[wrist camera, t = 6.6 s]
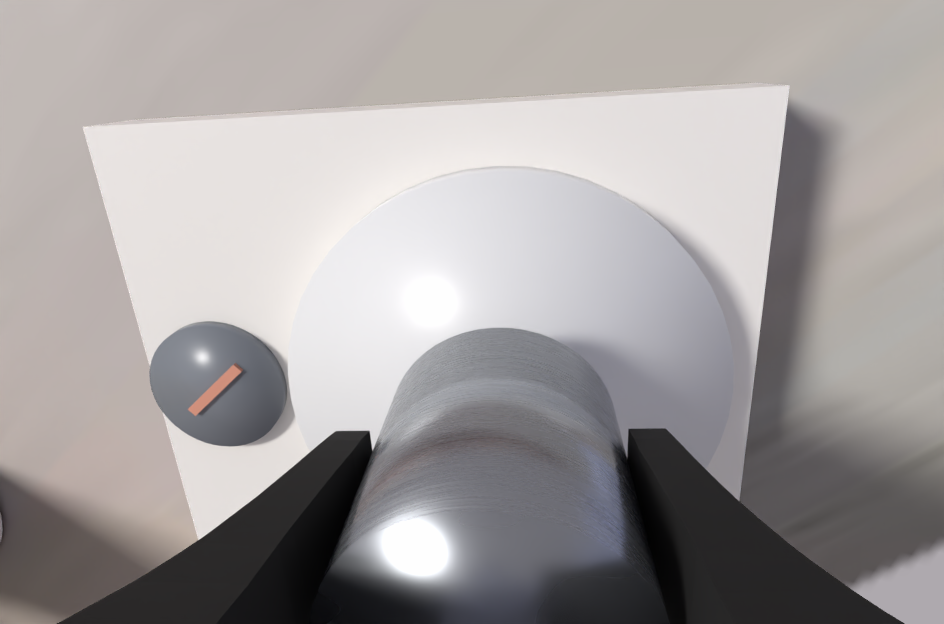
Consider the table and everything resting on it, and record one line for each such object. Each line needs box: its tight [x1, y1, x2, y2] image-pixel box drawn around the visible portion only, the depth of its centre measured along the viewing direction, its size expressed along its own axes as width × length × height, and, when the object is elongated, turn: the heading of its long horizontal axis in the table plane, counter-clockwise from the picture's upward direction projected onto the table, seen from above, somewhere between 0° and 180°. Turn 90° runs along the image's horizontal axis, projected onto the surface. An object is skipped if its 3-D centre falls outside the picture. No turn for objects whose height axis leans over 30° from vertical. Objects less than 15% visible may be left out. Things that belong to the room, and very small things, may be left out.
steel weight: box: [309, 328, 670, 624], centre depth 10 cm, size 4×4×5 cm
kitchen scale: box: [83, 83, 789, 540], centre depth 15 cm, size 14×12×3 cm
